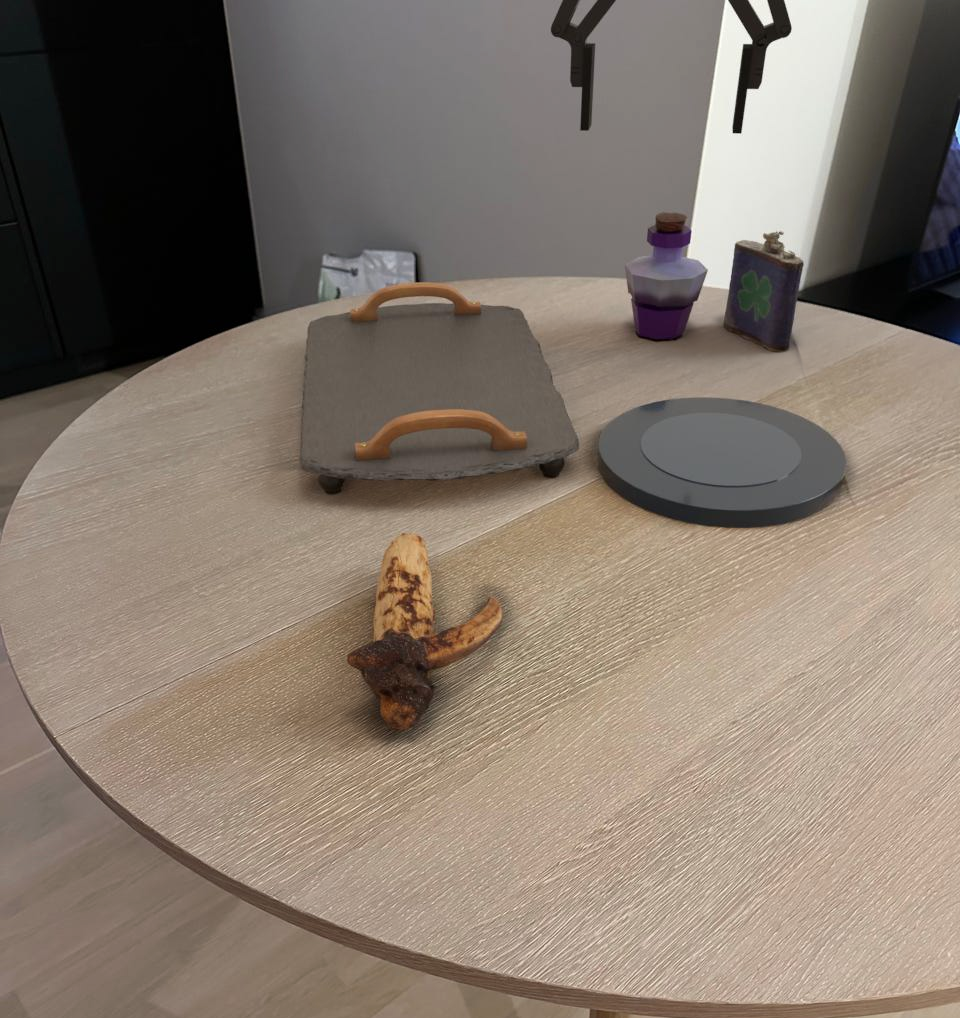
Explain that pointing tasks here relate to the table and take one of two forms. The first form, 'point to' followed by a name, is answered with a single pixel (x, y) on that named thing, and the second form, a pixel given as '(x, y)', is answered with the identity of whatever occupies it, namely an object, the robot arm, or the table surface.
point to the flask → (763, 292)
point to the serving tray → (428, 393)
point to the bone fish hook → (413, 635)
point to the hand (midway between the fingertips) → (660, 129)
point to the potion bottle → (664, 281)
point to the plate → (721, 462)
